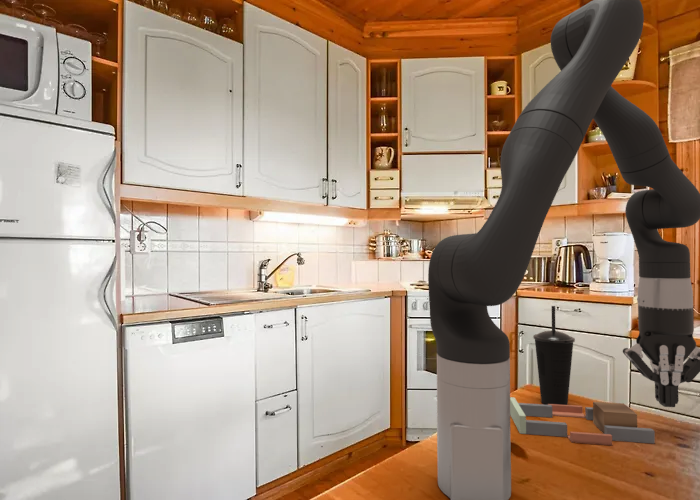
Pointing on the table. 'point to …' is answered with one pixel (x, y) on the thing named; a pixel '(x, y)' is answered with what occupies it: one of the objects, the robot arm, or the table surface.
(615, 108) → the robot arm
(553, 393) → the drinking cup
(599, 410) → the walnut block
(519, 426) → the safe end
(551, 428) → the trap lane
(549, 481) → the table surface
